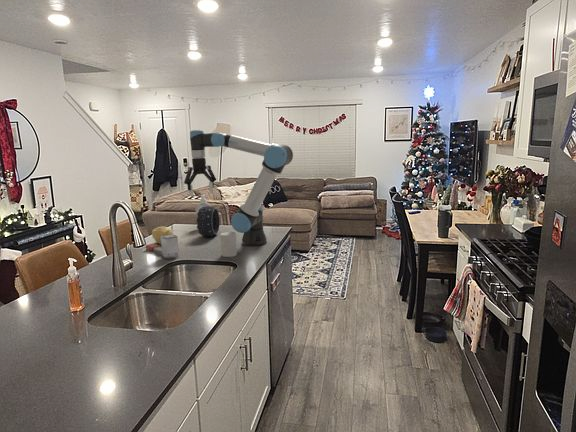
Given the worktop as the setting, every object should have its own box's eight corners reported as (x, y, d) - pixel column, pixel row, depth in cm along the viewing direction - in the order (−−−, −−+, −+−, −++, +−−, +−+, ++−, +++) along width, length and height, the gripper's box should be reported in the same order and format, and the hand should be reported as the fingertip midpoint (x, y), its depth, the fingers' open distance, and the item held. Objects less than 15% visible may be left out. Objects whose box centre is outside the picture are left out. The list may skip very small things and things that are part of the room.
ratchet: (181, 256, 213) (179, 242, 211) (167, 260, 208) (166, 246, 206) (156, 247, 234) (154, 234, 233) (143, 250, 229) (141, 237, 227)
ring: (221, 232, 268) (219, 203, 264) (213, 239, 249) (210, 209, 245) (206, 232, 269) (204, 204, 265) (196, 239, 250) (194, 209, 246)
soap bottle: (216, 226, 287) (213, 194, 282) (212, 228, 279) (210, 195, 274) (199, 226, 288) (196, 194, 284) (195, 229, 281) (192, 196, 276)
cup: (220, 254, 215) (218, 233, 213) (234, 251, 219) (232, 231, 217) (224, 257, 208) (223, 236, 206) (238, 255, 212) (237, 234, 210)
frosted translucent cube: (178, 251, 212) (177, 235, 211) (167, 254, 208) (166, 238, 206) (173, 249, 217) (171, 234, 215) (162, 252, 212) (160, 236, 211)
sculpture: (150, 244, 242) (148, 228, 240) (161, 239, 253) (160, 223, 251) (166, 245, 238) (164, 228, 236) (177, 240, 250) (175, 224, 248)
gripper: (213, 156, 232) (215, 191, 236) (175, 159, 215) (179, 196, 219) (220, 156, 227) (223, 192, 231) (182, 159, 210) (185, 197, 214)
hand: (201, 194), depth 225 cm, fingers open, 13 cm apart
